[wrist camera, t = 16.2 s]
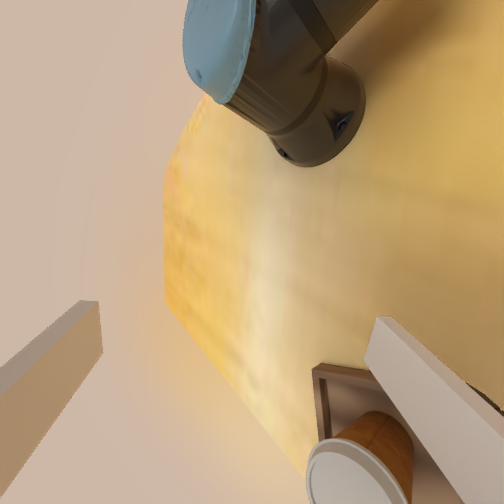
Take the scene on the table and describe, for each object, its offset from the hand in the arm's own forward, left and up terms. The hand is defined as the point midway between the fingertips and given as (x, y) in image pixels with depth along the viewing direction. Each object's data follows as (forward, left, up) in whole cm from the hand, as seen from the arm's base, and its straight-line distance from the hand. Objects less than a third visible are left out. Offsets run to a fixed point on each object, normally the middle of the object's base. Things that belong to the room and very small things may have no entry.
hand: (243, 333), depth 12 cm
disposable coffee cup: (+18, -3, -27) cm, 32 cm away
